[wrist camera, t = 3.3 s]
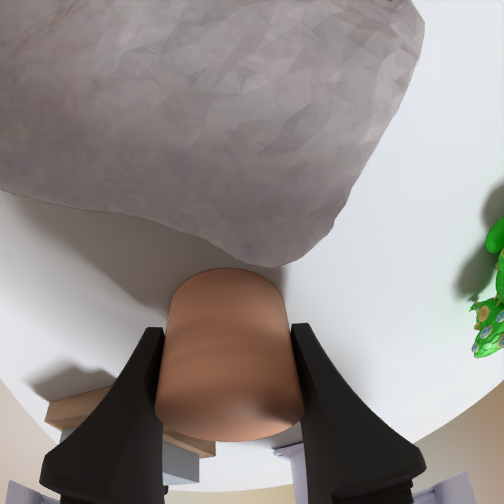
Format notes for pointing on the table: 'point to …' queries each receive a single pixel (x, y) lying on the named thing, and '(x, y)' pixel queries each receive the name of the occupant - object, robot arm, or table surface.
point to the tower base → (80, 407)
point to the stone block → (203, 110)
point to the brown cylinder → (228, 360)
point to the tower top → (171, 463)
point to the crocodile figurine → (492, 302)
